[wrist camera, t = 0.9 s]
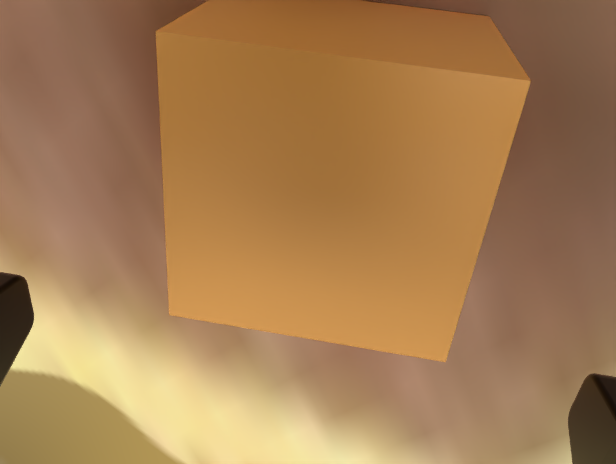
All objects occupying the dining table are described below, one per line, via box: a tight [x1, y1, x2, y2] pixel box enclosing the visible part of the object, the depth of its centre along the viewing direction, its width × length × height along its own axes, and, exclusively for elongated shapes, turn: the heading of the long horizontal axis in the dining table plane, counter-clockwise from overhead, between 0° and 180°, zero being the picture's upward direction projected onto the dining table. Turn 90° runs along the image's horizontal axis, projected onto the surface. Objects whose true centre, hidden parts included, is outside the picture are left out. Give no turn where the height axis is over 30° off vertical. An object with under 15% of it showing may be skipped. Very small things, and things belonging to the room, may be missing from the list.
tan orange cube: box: [156, 0, 531, 362], centre depth 15 cm, size 7×7×6 cm
